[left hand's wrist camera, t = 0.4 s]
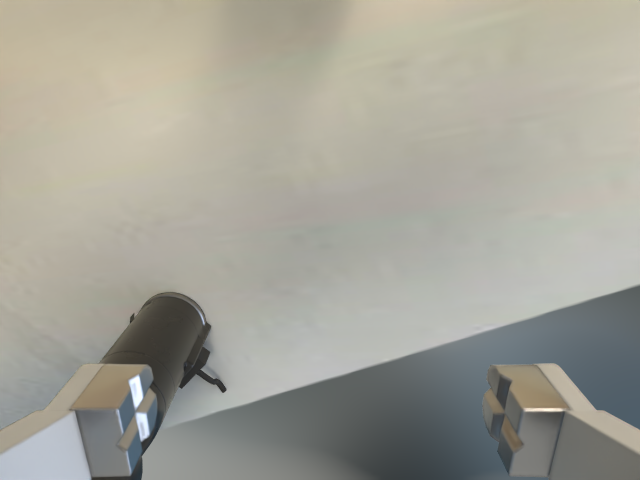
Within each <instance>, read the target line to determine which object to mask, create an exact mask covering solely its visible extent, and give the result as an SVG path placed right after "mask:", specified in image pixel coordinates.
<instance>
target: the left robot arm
mask: <svg viewBox="0 0 640 480" xmlns="http://www.w3.org/2000/svg"><path fill="white" fill-rule="evenodd" d="M486 379H487V381H488V383H489V385H490V387H491V388H490V389H489V390H488V391H487V392H486V393H485V394H484V397H483V405H482V407H483V418H484V422H485V425H486V428H487V430H488V433H489V435H490V436H491V437H492V438H494V439H495V440H496V441H498V442H499V445H498V454H499V456H500V458H501V460H502V462H503V464H504V466H505V468H506V470H507V472H508V474H509V476H522V477H549V480H640V430H639V429H637V428H635V427H633V426H631V425H629V424H628V423H626V422H624V421H622V420H620V419H618V418H616V417H614V416H613V415H611V414H609V413H607V412H605V411H599V410H596V409H595V408H594V407H593V406H592V405H591V403H590V402H589V401H588V400H587V399H586V397H585V396H584V395H583V394H582V393H581V392H580V390H579V389H578V388H577V387H576V386H575V384H574V383H573V382H572V381H571V380H570V379H569V377H568V376H567V375H566V374H565V373H564V371H563V370H562V369H561V368H560V367H559V366H558V365H556V364H554V363H551V364H532V365H490V367H489V369H488V373H487V378H486ZM153 380H154V378H153V373H152V369H151V367H150V366H149V365H142V364H85V365H82V366H81V367H80V368H79V369H78V370H77V371H76V372H75V374H74V375H73V376H72V377H71V378H70V380H69V381H68V382H67V383H66V384H65V386H64V387H63V388H62V389H61V390H60V391H59V393H58V394H57V395H56V396H55V397H54V399H53V400H52V401H51V402H50V403H49V405H48V406H47V407H46V408H45V409H44V410H40V411H35V412H33V413H31V414H29V415H27V416H25V417H24V418H22V419H20V420H18V421H16V422H14V423H12V424H11V425H9V426H7V427H5V428H3V429H1V430H0V480H91V477H117V476H131V474H132V472H133V470H134V468H135V466H136V464H137V462H138V460H139V458H140V456H141V454H142V452H143V451H142V445H141V442H142V441H144V440H145V439H146V438H148V437H149V436H150V435H151V433H152V430H153V428H154V426H155V421H156V417H157V397H156V394H155V393H154V392H153V391H152V390H151V389H150V388H149V387H150V385H151V383H152V381H153Z"/></svg>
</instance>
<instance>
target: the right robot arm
mask: <svg viewBox="0 0 640 480" xmlns="http://www.w3.org/2000/svg"><path fill="white" fill-rule="evenodd" d="M210 328H211V326H210V325H209V324H208V323H207V322H206V319H205V316H204V313H203V311H202V310H201V308H200V307H199V306H198V304H197V303H196V302H194V301H193V300H192V299H190V298H188V297H186V296H184V295H182V294H178V293H161V294H158V295H155V296H153V297H152V298H150V299H149V300H148V301H147V302H146V303H145V304H144V306H143V307H142V308H141V310H140V311H139V313H138V314H137V316H136V317H135V318H134V314H133V315H132V316H131V317H130V324H129V326H128V327H127V328H126V330H125V331H124V332H123V333H122V335H121V336H120V337H119V338H118V340H117V341H116V342H115V343H114V345H113V346H112V347H111V348H110V350H109V351H108V352H107V354H106V355H105V356H104V357H103V359H102V360H101V361H100V362H99V364H142V365H149V366H150V367H151V369H152V373H153V378H154V380H153V381H152V383H151V385H150V387H149V388H150V389H151V390H152V391H153V392H154V393H155V394H156V397H157V417H156V421H155V426H154V428H153V430H152V433H151V435H150V436H149V437H148V438H146V439H145V440H144V441H142V442H141V445H142V451H143V452H142V454H141V456H140V458H139V460H138V462H137V464H136V466H135V468H134V470H133V472H132V474H131V476H117V477H91V480H141V478H142V455H143V454H144V452H145V451H146V449H147V448H148V447H149V445H150V444H151V442H152V441H153V439H154V438H155V436H156V434H157V432H158V430H159V428H160V426H161V424H162V421H163V419H164V417H165V415H166V413H167V411H168V408H169V406H170V404H171V402H172V400H173V398H174V395H175V393H176V391H177V389H178V387H180V388H181V389H182V388H183V387H184V386H185V385H186V384H187V383H188V382H189V381H190V380H191V379H192V378H193V376H194V375H195V374H197V375H199V376H200V377H202V378H203V379H204V380H206V381H207V382H209V383H211V384H213V385H215V384H216V385H217V386H218V387H219V388H220V390H221V391H222V393H224V392H225V391H226V388H225V386H224V385H223V384H222V382H221V381H220V380H218V379H213V378H211V377H210V376H208V375H207V374H206V373H204V372H203V371H201V370H200V369H201V368H202V367H203V366H204V365H205V364H206V361H207V359H208V357H209V354H210V352H209V351H208V350H207V349H205V348H204V347H203V344H204V342H205V340H206V337H207V335H208V333H209V331H210Z"/></svg>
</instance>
